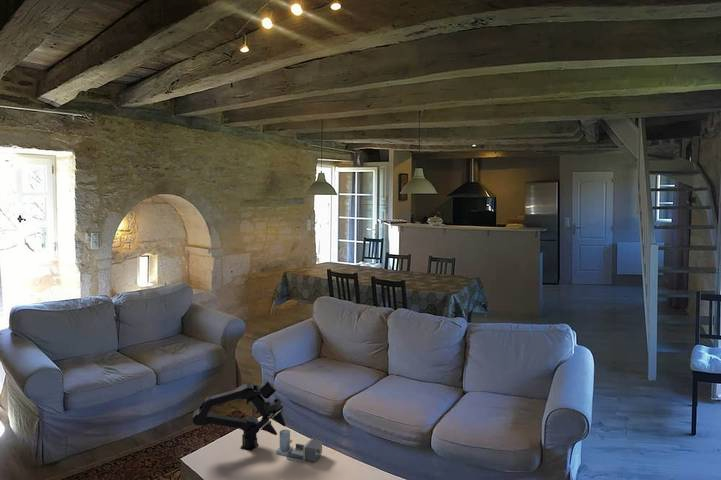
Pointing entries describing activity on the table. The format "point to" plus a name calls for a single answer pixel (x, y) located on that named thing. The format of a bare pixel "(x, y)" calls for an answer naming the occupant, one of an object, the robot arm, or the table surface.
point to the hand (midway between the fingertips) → (280, 430)
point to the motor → (306, 451)
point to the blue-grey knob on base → (284, 443)
